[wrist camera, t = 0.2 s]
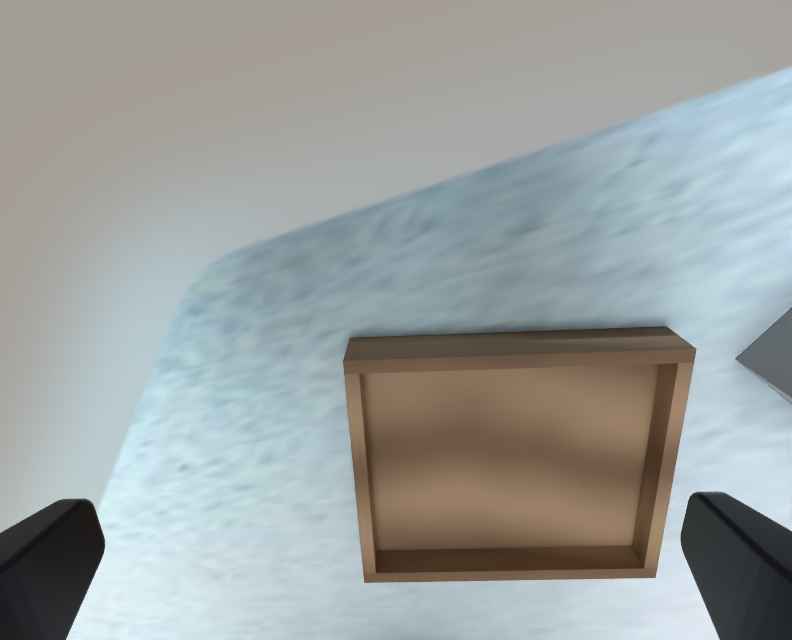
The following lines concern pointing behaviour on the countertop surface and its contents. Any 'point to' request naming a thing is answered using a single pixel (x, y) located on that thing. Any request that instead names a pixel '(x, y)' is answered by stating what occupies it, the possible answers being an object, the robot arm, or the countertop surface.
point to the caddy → (773, 356)
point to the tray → (515, 452)
